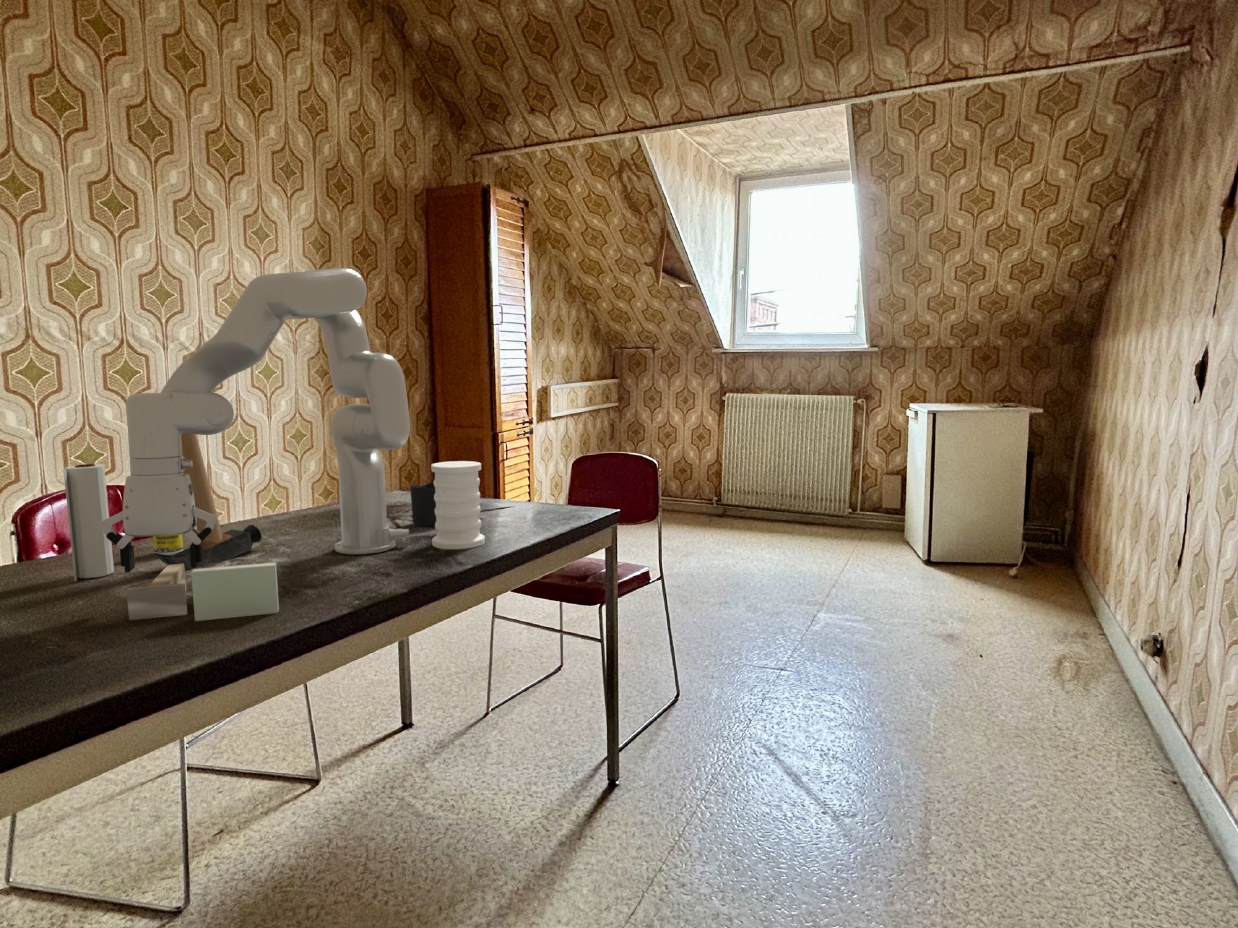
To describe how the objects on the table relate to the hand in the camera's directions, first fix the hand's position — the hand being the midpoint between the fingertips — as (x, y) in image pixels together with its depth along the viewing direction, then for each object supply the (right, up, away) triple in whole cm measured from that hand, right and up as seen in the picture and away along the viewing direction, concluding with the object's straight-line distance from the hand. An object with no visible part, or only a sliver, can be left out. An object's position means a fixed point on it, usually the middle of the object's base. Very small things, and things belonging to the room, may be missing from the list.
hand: (162, 568), depth 128 cm
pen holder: (+29, +2, +65) cm, 71 cm away
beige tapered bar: (0, -6, +1) cm, 6 cm away
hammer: (-7, -3, +29) cm, 30 cm away
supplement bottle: (-20, -2, +35) cm, 41 cm away
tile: (+15, -7, -5) cm, 18 cm away
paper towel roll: (-24, -4, +18) cm, 31 cm away
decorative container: (+41, -1, +43) cm, 59 cm away
